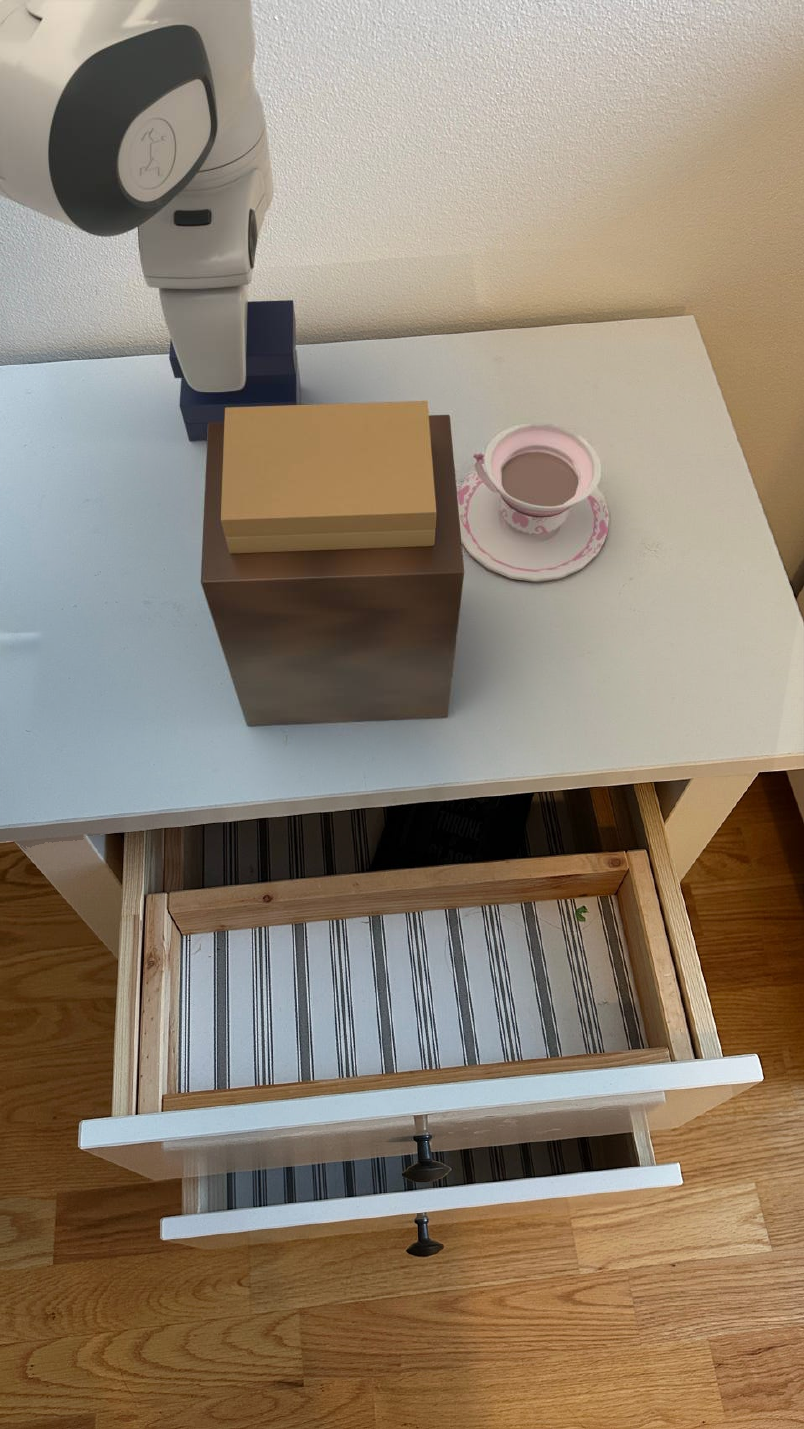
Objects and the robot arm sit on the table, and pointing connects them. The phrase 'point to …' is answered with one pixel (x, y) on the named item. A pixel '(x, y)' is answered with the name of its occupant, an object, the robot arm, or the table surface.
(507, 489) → the teacup
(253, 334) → the navy book
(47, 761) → the table surface
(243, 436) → the tan books
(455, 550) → the book stand
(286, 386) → the navy books
